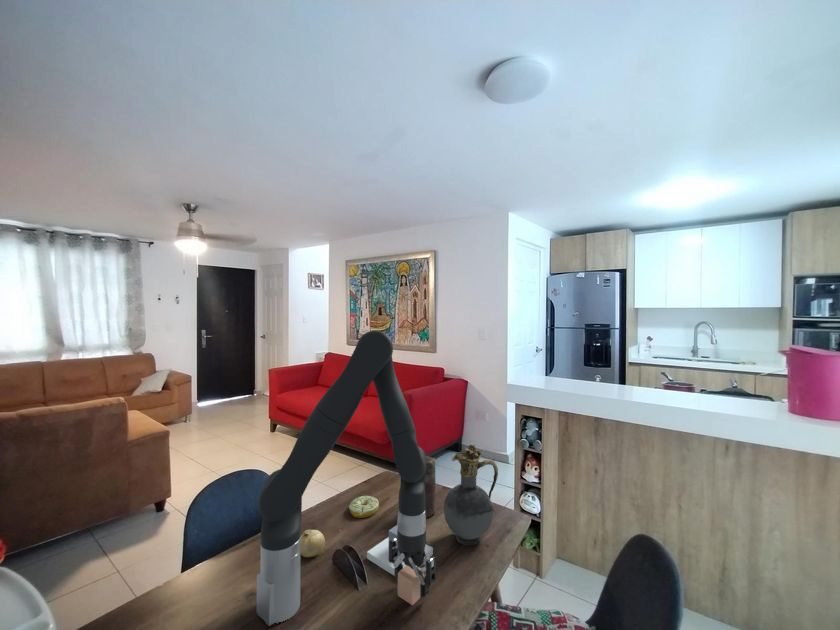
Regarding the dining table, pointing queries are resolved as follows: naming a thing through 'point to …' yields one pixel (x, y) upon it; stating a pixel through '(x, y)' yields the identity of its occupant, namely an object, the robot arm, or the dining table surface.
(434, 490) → the brown cylinder
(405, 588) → the peach block
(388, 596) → the dining table surface
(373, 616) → the dining table surface
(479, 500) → the pitcher
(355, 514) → the decorated donut
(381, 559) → the white flat square slab
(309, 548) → the onion
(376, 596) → the dining table surface
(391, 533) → the slate block
